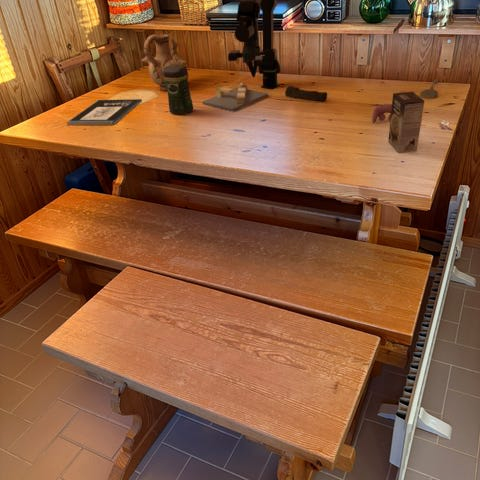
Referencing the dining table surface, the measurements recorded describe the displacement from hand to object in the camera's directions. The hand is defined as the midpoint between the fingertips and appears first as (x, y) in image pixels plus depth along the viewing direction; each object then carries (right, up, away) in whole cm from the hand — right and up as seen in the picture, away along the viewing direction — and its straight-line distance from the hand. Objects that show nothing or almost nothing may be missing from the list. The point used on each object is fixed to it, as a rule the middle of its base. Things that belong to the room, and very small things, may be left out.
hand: (253, 77), depth 187 cm
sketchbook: (-64, -11, +14) cm, 66 cm away
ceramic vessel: (-38, +7, +35) cm, 53 cm away
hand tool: (+21, -8, +6) cm, 23 cm away
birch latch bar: (-5, -4, +12) cm, 13 cm away
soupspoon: (+73, -6, +2) cm, 73 cm away
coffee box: (+46, -36, -39) cm, 71 cm away
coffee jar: (-30, -13, +6) cm, 33 cm away
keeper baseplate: (-7, -6, +12) cm, 15 cm away
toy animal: (+47, -24, -21) cm, 57 cm away
